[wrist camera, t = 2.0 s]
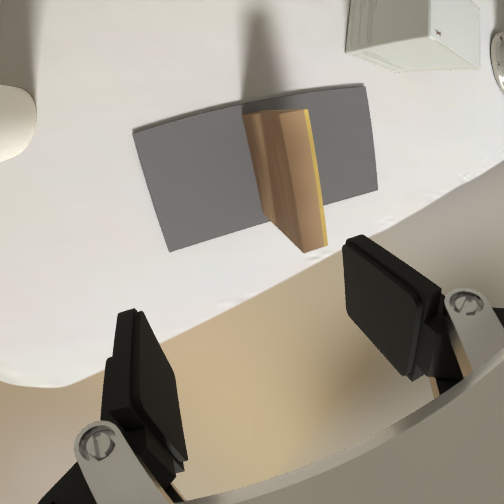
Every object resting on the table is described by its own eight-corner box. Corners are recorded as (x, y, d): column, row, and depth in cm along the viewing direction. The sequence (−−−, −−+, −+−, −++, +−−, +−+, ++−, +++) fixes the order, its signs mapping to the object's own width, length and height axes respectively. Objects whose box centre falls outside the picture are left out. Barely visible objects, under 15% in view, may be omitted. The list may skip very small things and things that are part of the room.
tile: (262, 110, 28) (307, 109, 19) (281, 208, 32) (327, 245, 24) (241, 115, 28) (279, 114, 19) (263, 213, 32) (303, 253, 23)
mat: (363, 86, 30) (365, 86, 29) (375, 189, 35) (377, 190, 35) (132, 133, 26) (132, 134, 26) (169, 250, 31) (169, 252, 31)
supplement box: (395, 74, 30) (481, 73, 19) (342, 53, 28) (427, 36, 17) (401, 22, 27) (482, 8, 16) (349, -2, 25) (428, -34, 14)
